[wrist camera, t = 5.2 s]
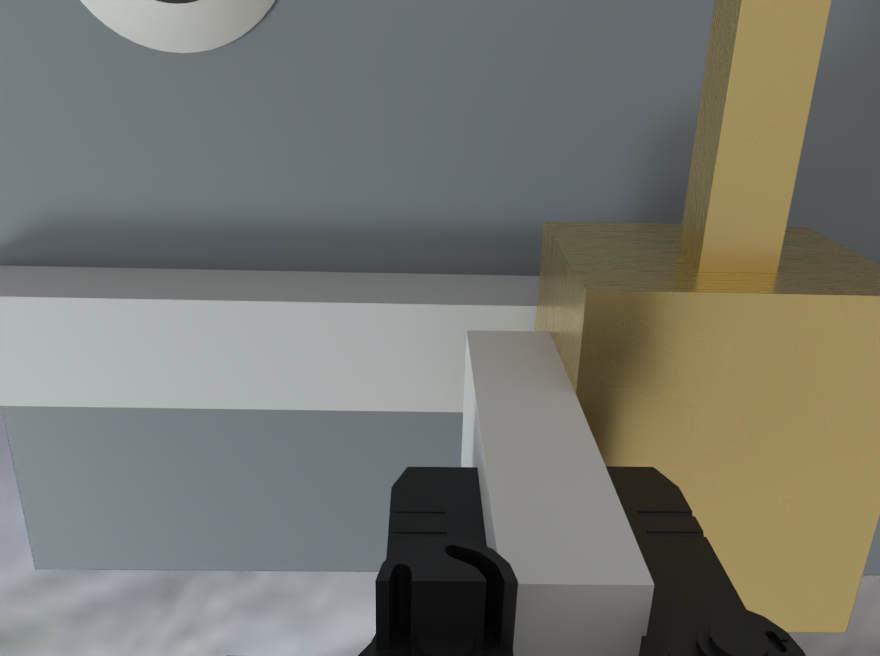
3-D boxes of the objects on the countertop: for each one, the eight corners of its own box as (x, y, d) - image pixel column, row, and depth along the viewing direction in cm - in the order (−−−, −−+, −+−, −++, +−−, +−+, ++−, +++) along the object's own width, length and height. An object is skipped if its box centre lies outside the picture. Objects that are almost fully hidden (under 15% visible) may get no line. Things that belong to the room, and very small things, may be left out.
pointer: (514, 456, 18) (551, 631, 13) (559, -167, 13) (647, -290, 8) (725, 459, 18) (845, 632, 13) (842, -157, 13) (1105, -270, 8)
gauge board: (56, 539, 21) (-183, 874, 13) (-99, -260, 14) (-816, -653, 6) (985, 548, 22) (1329, 866, 13) (1253, -207, 15) (2264, -490, 7)
